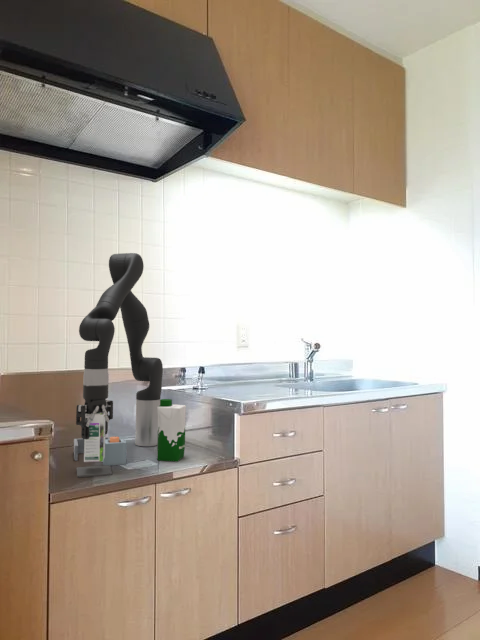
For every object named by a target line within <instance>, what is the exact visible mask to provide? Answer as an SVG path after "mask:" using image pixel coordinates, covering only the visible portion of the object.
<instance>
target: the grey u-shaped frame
mask: <svg viewBox="0 0 480 640" xmlns="http://www.w3.org/2000/svg"><path fill="white" fill-rule="evenodd" d="M110 437H111V436H105V439H110ZM79 454H84V439H82V438H73V460H74V461H76V462H77V461H79V459H78V457H79Z"/></svg>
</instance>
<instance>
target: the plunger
mask: <svg viewBox="0 0 480 640" xmlns="http://www.w3.org/2000/svg"><path fill="white" fill-rule="evenodd" d="M109 437H110V443H113V442H119V439H120V437H119V436H109Z"/></svg>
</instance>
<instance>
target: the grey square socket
mask: <svg viewBox="0 0 480 640" xmlns="http://www.w3.org/2000/svg"><path fill="white" fill-rule="evenodd" d="M127 444H128V443H127V441H126V439H125V438H119V442H113V443H110V439H105V458H104V460H103V462H102V464H103V466H104V465H109V466H120V465H123V466H124V465H127V447H128V446H127Z"/></svg>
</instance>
